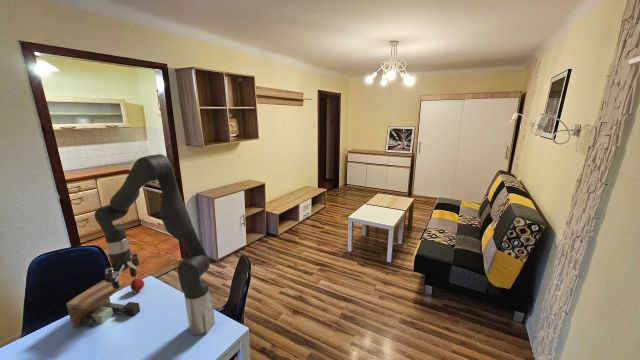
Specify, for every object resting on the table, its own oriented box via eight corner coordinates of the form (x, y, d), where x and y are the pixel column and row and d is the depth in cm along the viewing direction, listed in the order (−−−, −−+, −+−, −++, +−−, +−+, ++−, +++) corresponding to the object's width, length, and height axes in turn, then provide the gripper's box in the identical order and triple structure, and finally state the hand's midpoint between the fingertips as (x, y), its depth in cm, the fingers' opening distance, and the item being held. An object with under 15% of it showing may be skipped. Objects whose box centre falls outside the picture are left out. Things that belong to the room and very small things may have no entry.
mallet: (140, 311, 122) (138, 302, 121) (117, 330, 111) (115, 322, 110) (108, 306, 125) (106, 298, 124) (82, 325, 114) (80, 317, 113)
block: (113, 315, 120) (111, 307, 119) (103, 323, 115) (101, 316, 114) (104, 314, 121) (102, 306, 120) (93, 322, 116) (91, 314, 115)
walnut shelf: (129, 305, 126) (124, 282, 123) (96, 332, 110) (90, 306, 107) (108, 302, 128) (102, 280, 125) (73, 328, 112) (66, 303, 109)
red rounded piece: (132, 296, 132) (129, 282, 130) (131, 290, 136) (128, 277, 134) (146, 291, 136) (143, 277, 134) (144, 286, 140) (141, 272, 138)
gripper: (110, 258, 105) (118, 293, 109) (139, 241, 119) (145, 273, 123) (94, 256, 107) (103, 291, 111) (125, 240, 120) (131, 272, 124)
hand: (125, 282), depth 117 cm, fingers open, 8 cm apart
